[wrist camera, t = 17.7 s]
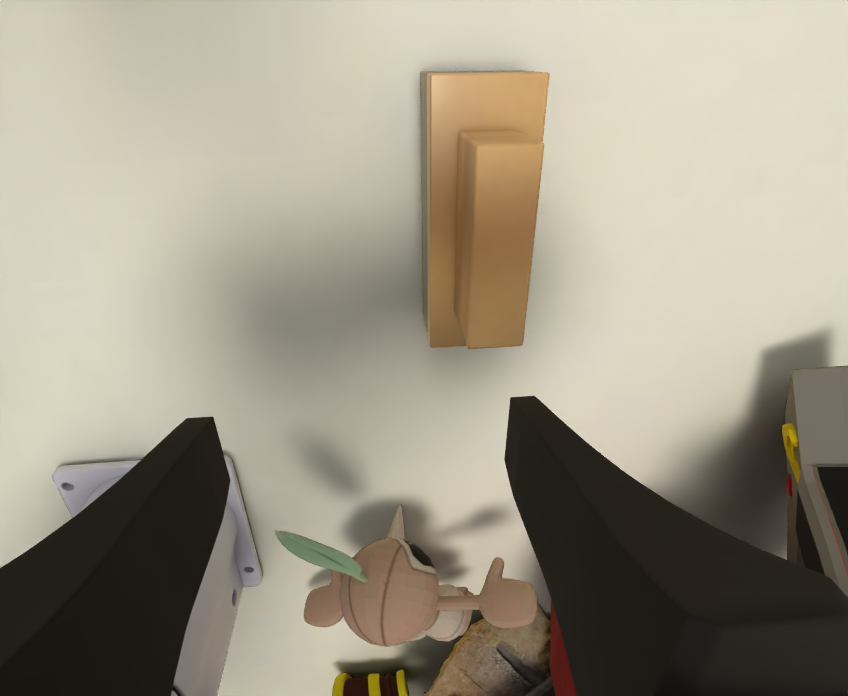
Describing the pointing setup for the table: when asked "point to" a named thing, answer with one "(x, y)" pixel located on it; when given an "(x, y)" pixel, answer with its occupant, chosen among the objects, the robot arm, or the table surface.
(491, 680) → the driftwood
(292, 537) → the toy
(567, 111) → the table surface
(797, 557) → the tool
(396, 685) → the opera glasses
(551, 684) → the hard drive
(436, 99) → the brush
